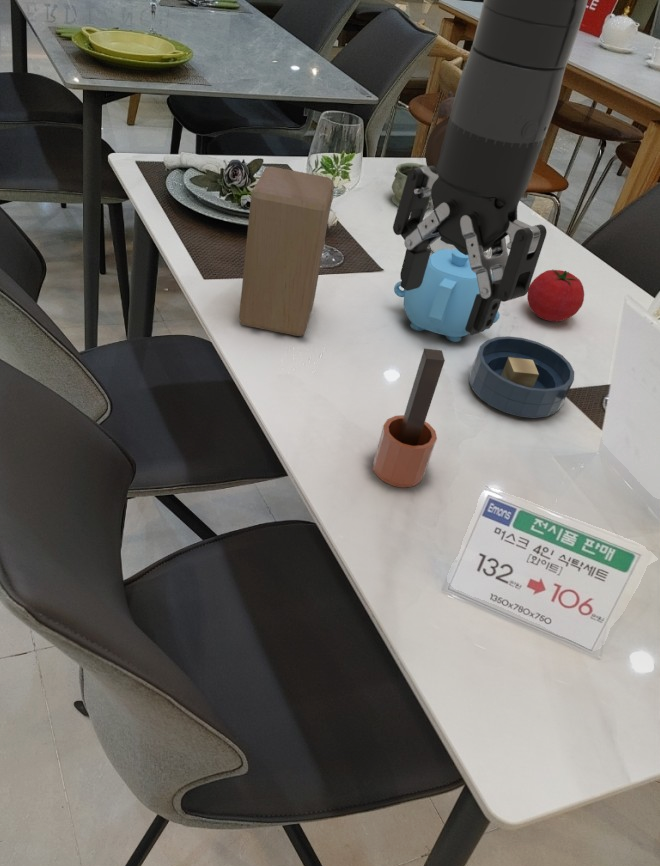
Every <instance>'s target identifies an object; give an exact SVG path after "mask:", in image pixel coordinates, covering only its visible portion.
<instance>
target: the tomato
mask: <svg viewBox="0 0 660 866" xmlns="http://www.w3.org/2000/svg"><path fill="white" fill-rule="evenodd" d="M584 289H585V288H584V285H583V282H582V281H581V280H580V278H579V277H577V276H575V275H574V274H572V273H571V272H570V271H567V270H562V269H561V270H560V269H548V270H545V271H543V272H541V273H540V274H539V275H538V276H536V277H535V278H534V279H532V281H531V283H530V286H529V289H528V292H527V294H526V295H527V296H526V299H527V303H528V306H529V309H530V310H531V311H532V312H533V313H534V314H535V316H537V317H538V318H539V319H542V320H545V321H548V322H553V323H555V322H561V321H565V320H568V319H570V318H571V317H574V316H575V315H576V314H577V313H578V312H579V311H580V310H581V308H582V306H583V304H584V301H585V290H584Z"/></svg>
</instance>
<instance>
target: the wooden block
mask: <svg viewBox="0 0 660 866" xmlns="http://www.w3.org/2000/svg"><path fill="white" fill-rule="evenodd" d="M334 183H335V182H334V180H333V179H331V178H330V177H328V176H323V175H318V174H314V173H307V172H303V171H297V170H292V169H287V168H282V167H277V166H271V165H270V166H266V167H265V168H264V169H263V171H262V173H261V175H260V177H259V178H258V180H257V183H255V186H254V188H253V190H252V191H251V193H250V194H251V195H250V205H249V213H248V214H249V215H248V224H247V235H246V243H245V244H246V245H245V252H244V262H243V264H244V265H243V272H242V282H241V283H242V284H241V292H240V302H239V304H240V305H239V312H238V319H239V323H240V324H241V325H243V326H245V327H251V328H256V329H261V330H266V331H272V332H275V333H280V334H286V335H291V336H295V337H301V336H303V335H304V334H305V332H306V331H307V328H308V325H309V321H310V318H311V314H312V311H313V307H314V304H315V297H316V292H317V286H318V282H319V281H318V280H319V275H320V269H321V264H322V259H323V258H322V257H323V252H324V247H325V241H326V235H327V231H328V230H327V229H328V223H329V218H330V212H331V206H332V200H333V194H334V191H335V184H334Z"/></svg>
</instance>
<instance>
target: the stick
mask: <svg viewBox="0 0 660 866" xmlns="http://www.w3.org/2000/svg"><path fill="white" fill-rule="evenodd" d="M420 357H421V358H420V360H419V364H418V368H417V370H416V375H415V377H414V381H413V384H412V387H411V391H410V394H409V397H408V401H407V403H406V408H405V411H404V414H403V415H404V417H403V421H402V424H401V427H400V431H399V434H398V437H397V440H398V441H400V442H401V443H403V444H407V445H412V446H417V444H418V441H419V438H420V435H421V432H422V429H423V426H424V423H425V422H426V420H427V416H428V414H429V411H430V408H431V404H432V401H433V398H434V395H435V392H436V390H437V389H436V388H437V385H438V383H439V380H440V377H441V374H442V371H443V367H444V365H445V361H446V360H445V356H444V353H443V350H441V349H434V348H433V349H432V348H423V351H422V354H421V356H420Z"/></svg>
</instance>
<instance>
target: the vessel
mask: <svg viewBox="0 0 660 866" xmlns="http://www.w3.org/2000/svg"><path fill="white" fill-rule="evenodd" d="M425 166H426V165H425V164H421V163H416V162H404V163H400V164H397V165H396V167H395V170H396V172H395V174H394V179H393V182H392V184H391V190H392V192H393V194H394V195H393V196H392V198H391V201H392V204H394V205H395V206H397V207H399V203H400V200H401V196H402V193H403V189H404V186H405V182H406V179H407V175H408V172H409V171H410V170H411V169H415V168H419V167H425ZM437 175H438V174H437ZM430 201H432V197H431V196H430V199H429V202H428V205H427V209H426V210H428V209H429V208H430V207H431V205H430Z"/></svg>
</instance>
